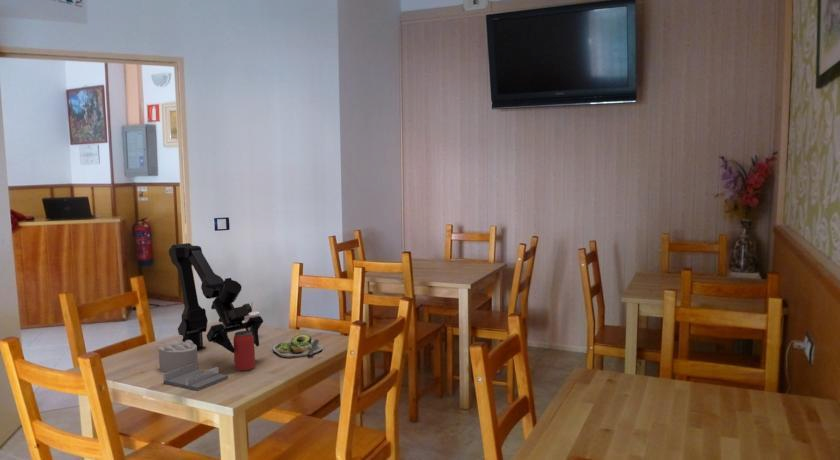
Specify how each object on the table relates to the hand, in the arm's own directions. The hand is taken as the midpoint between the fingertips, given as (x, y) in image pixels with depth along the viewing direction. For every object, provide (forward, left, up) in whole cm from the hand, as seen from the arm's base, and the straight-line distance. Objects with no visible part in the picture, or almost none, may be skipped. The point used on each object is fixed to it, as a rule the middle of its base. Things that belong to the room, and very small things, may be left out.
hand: (246, 348), depth 203 cm
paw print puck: (+9, -21, -7) cm, 24 cm away
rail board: (+16, -6, -7) cm, 18 cm away
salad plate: (-24, +1, -7) cm, 25 cm away
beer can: (0, -1, -7) cm, 7 cm away
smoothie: (-30, -27, -7) cm, 41 cm away
